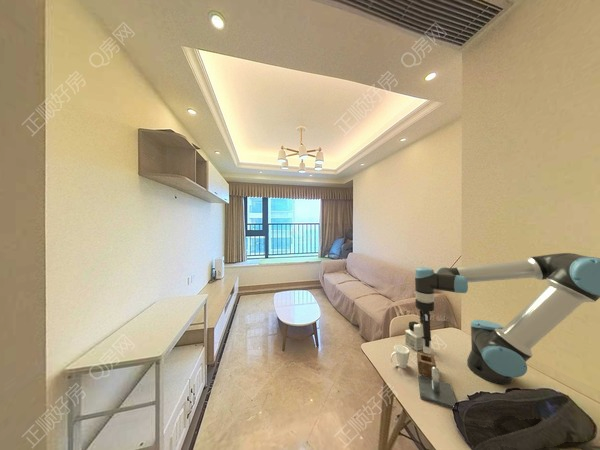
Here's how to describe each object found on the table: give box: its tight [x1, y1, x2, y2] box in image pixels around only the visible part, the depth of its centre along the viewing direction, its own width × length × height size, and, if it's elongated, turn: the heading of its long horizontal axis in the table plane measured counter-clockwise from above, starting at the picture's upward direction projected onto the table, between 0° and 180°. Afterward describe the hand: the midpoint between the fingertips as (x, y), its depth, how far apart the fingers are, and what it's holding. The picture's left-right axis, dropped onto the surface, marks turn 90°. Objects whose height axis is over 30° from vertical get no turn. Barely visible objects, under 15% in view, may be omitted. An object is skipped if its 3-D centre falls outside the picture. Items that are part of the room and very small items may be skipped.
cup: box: [389, 344, 410, 369], centre depth 96 cm, size 7×10×8 cm
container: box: [404, 320, 423, 352], centre depth 111 cm, size 8×8×13 cm
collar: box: [416, 351, 437, 378], centre depth 92 cm, size 7×7×6 cm
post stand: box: [417, 366, 457, 410], centre depth 80 cm, size 12×12×10 cm
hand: (425, 344), depth 92 cm, fingers open, 13 cm apart
